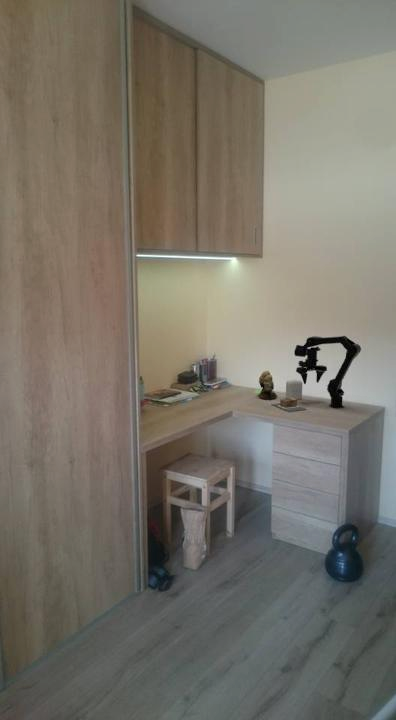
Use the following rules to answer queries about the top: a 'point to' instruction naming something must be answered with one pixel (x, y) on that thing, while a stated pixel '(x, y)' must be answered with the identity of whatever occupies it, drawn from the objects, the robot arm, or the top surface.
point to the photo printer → (294, 389)
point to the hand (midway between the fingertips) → (311, 383)
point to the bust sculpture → (267, 386)
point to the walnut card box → (288, 402)
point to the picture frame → (289, 408)
